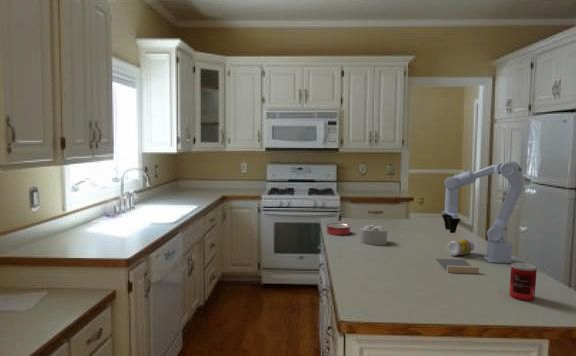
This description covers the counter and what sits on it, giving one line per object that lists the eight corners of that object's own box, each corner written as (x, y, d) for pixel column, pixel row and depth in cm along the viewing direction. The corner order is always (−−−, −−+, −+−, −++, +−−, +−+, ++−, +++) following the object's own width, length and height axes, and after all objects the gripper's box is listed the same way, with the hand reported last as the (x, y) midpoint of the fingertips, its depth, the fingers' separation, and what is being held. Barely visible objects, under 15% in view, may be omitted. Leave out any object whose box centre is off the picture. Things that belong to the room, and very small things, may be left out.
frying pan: (325, 224, 278) (325, 214, 277) (346, 224, 277) (346, 214, 277) (327, 235, 246) (327, 224, 245) (351, 236, 245) (351, 224, 245)
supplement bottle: (458, 240, 203) (475, 238, 210) (446, 241, 208) (463, 239, 215) (460, 255, 202) (477, 253, 209) (447, 255, 208) (465, 253, 215)
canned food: (526, 293, 157) (528, 262, 156) (539, 301, 150) (541, 269, 149) (504, 293, 157) (506, 262, 156) (517, 301, 149) (519, 268, 148)
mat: (464, 260, 199) (464, 255, 198) (478, 273, 179) (478, 267, 179) (436, 259, 200) (436, 253, 199) (447, 272, 181) (447, 266, 180)
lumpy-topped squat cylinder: (387, 245, 225) (388, 228, 224) (361, 244, 226) (361, 227, 225) (384, 240, 235) (384, 224, 234) (359, 239, 236) (359, 223, 235)
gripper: (438, 200, 217) (437, 227, 218) (447, 204, 202) (445, 234, 204) (453, 200, 216) (452, 228, 218) (463, 204, 202) (461, 234, 203)
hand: (450, 231), depth 211 cm, fingers open, 7 cm apart
